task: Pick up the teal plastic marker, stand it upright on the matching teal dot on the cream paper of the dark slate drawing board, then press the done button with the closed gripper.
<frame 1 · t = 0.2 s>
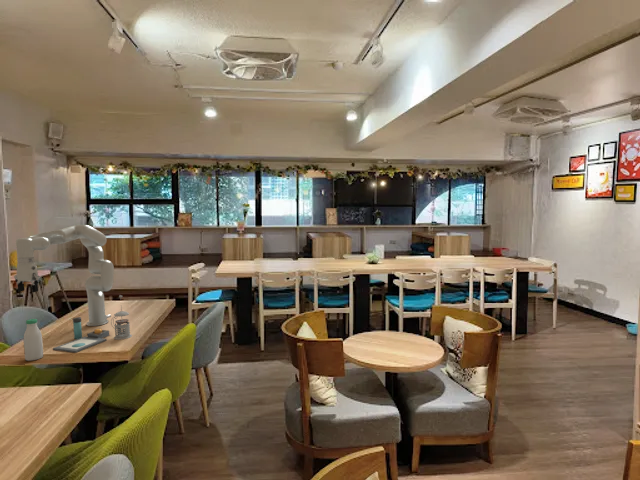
hand: (28, 291, 222), 31 cm above the table, tool pointing down, fingers open, 9 cm apart
done button: (98, 332, 238), point 3 cm above the table, slide at 0.0 cm
french press: (121, 337, 239), on the table
marker: (78, 338, 237), on the table
drawing board: (80, 345, 225), on the table
button housing: (98, 336, 239), on the table
milk bottle: (34, 358, 206), on the table
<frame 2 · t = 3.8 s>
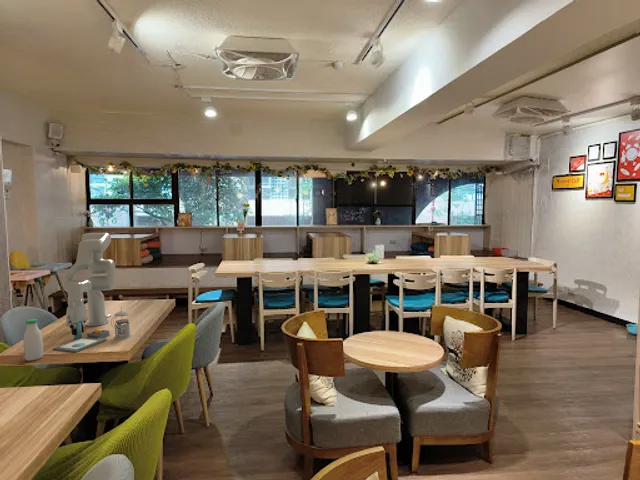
hand: (77, 333, 237), 3 cm above the table, tool pointing down, fingers closed on marker, 4 cm apart
marker: (78, 338, 237), on the table, touching gripper
everything else where it was.
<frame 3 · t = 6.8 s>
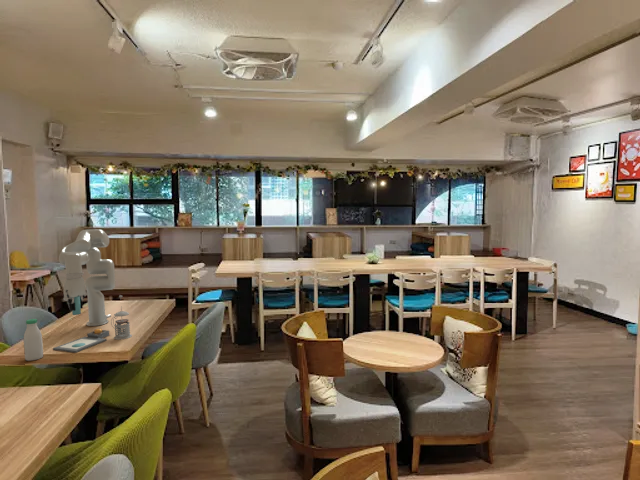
hand: (76, 309, 220), 21 cm above the table, tool pointing down, fingers closed on marker, 4 cm apart
marker: (76, 314, 220), point 19 cm above the table, touching gripper
everything else where it was.
when the fingers open (5 cm above the table, at t = 10.2 s): marker drops 1 cm, resting on drawing board.
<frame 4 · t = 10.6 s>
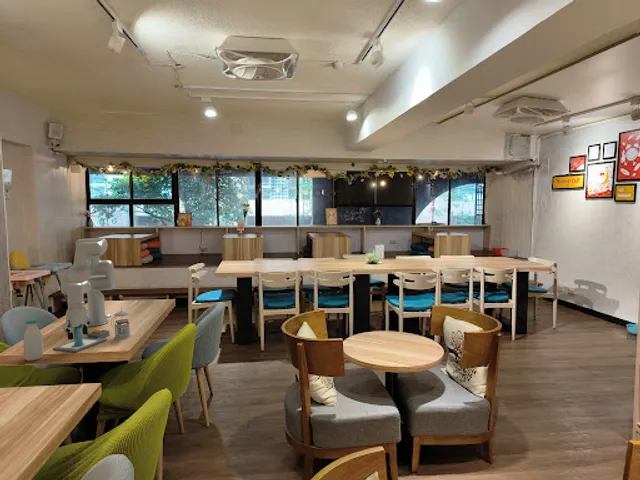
hand: (78, 336, 221), 6 cm above the table, tool pointing down, fingers open, 8 cm apart
marker: (78, 345, 221), point 1 cm above the table, touching drawing board
everything else where it was.
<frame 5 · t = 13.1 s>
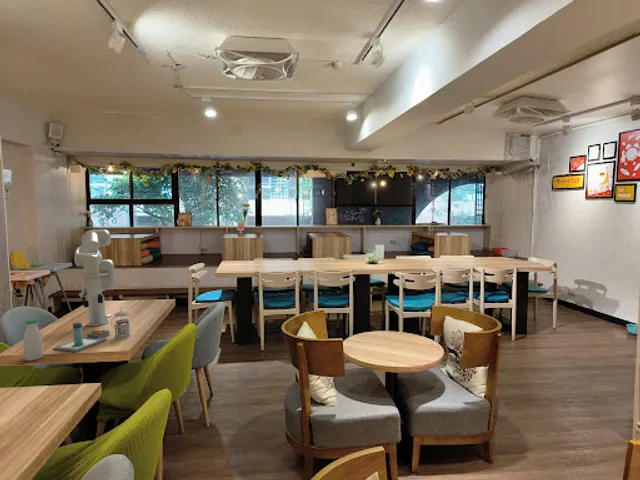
hand: (93, 305, 234), 20 cm above the table, tool pointing down, fingers open, 9 cm apart
nothing on the table moved.
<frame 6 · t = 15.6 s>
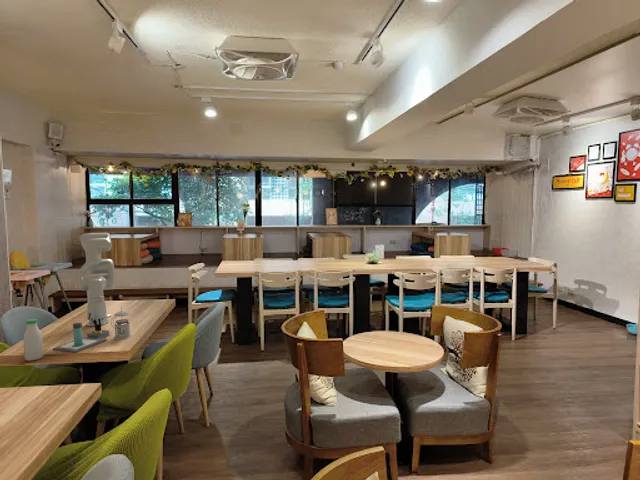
hand: (98, 330, 238), 4 cm above the table, tool pointing down, fingers closed
done button: (98, 332, 238), point 3 cm above the table, slide at 0.5 cm, touching gripper
everything else where it was.
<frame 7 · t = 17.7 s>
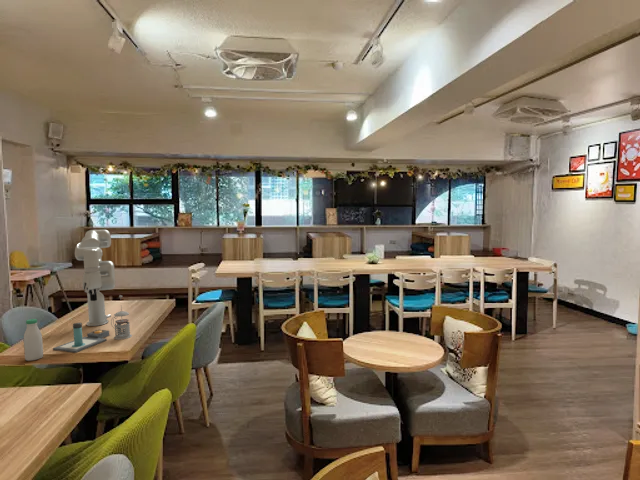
hand: (93, 300, 238), 22 cm above the table, tool pointing down, fingers closed
done button: (98, 333, 238), point 2 cm above the table, slide at 1.1 cm
everything else where it was.
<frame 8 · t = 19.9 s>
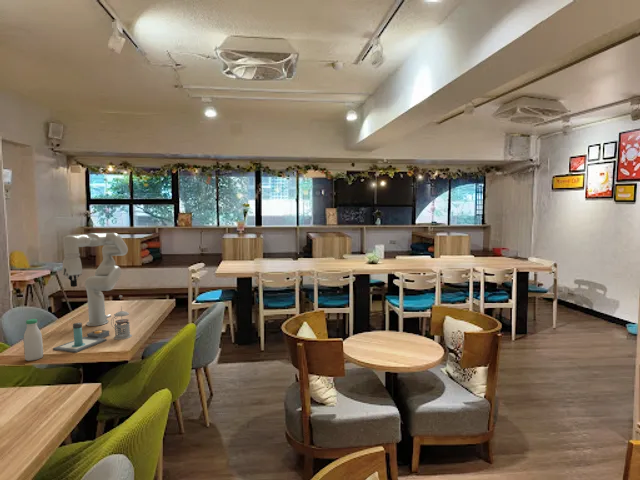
hand: (73, 286, 244), 29 cm above the table, tool pointing down, fingers closed
nothing on the table moved.
at the end: marker 0.0 cm from the target spot on the drawing board, point 1.2 cm above the drawing board's base; marker tilted 0°; done button slide at 1.1 cm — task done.
